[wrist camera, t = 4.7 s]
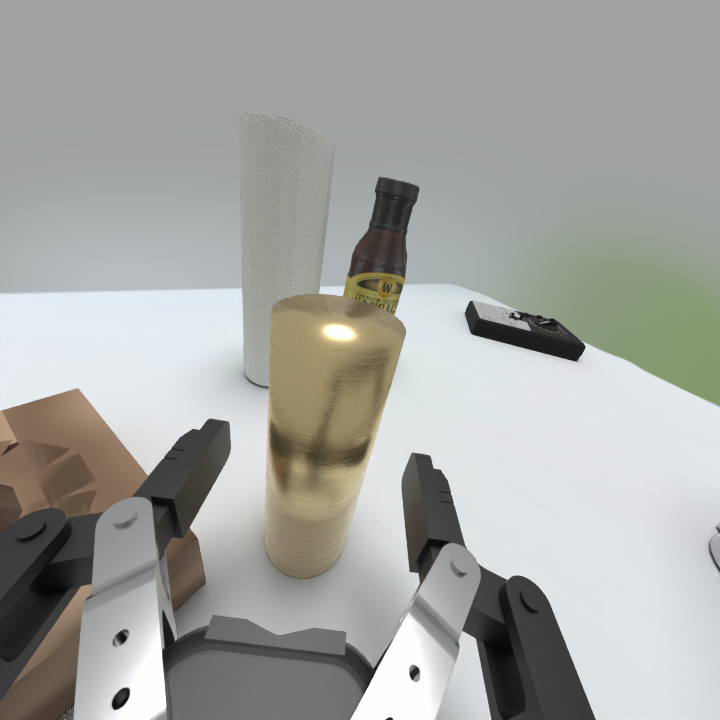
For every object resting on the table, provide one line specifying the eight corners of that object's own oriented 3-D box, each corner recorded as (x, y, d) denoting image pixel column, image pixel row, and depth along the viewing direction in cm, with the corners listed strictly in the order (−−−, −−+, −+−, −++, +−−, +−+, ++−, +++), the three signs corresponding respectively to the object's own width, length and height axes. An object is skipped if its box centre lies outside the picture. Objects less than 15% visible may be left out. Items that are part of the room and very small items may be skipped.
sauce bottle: (338, 376, 32) (374, 170, 22) (326, 349, 37) (351, 171, 27) (389, 375, 34) (442, 188, 25) (372, 349, 39) (410, 186, 30)
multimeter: (576, 364, 50) (593, 339, 48) (469, 336, 53) (480, 311, 50) (550, 336, 62) (562, 315, 59) (463, 314, 64) (471, 293, 61)
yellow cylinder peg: (306, 481, 20) (333, 288, 13) (360, 527, 18) (426, 326, 11) (246, 535, 16) (240, 305, 9) (306, 601, 14) (354, 368, 7)
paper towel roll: (240, 388, 27) (230, 98, 17) (247, 356, 32) (243, 118, 22) (315, 390, 29) (348, 132, 19) (311, 359, 34) (336, 143, 24)
